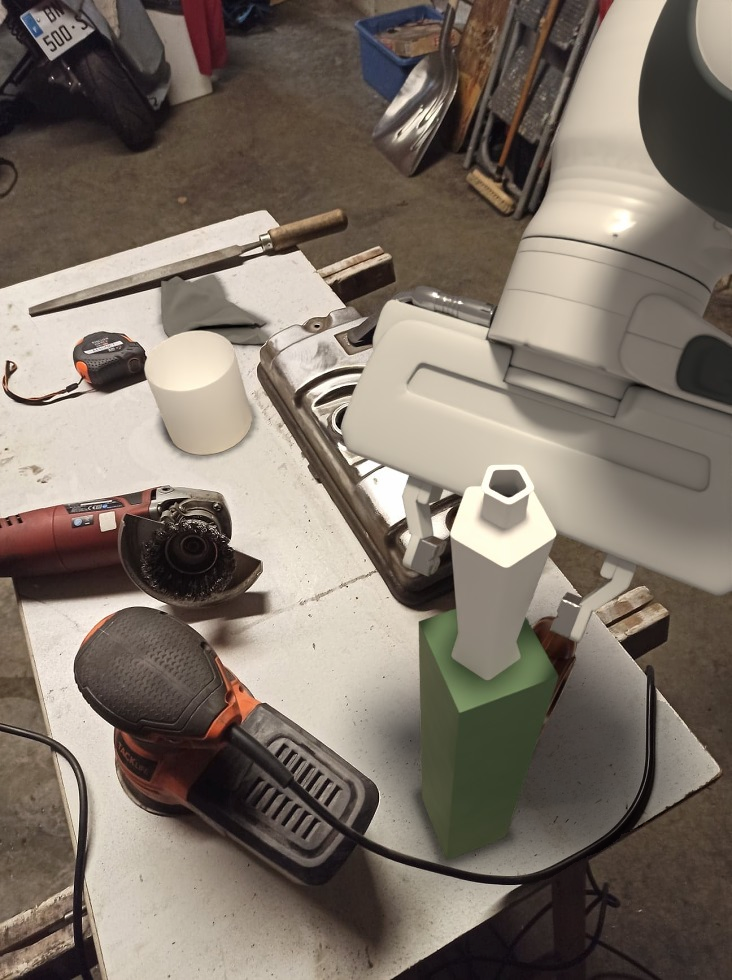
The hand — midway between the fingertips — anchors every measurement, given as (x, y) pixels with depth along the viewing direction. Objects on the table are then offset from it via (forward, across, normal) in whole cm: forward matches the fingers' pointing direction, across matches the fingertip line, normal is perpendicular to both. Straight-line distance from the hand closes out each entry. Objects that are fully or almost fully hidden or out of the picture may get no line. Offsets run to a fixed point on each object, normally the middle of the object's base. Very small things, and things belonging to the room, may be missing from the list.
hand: (489, 600), depth 37 cm
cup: (+7, -53, +51) cm, 74 cm away
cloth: (-6, -69, +64) cm, 94 cm away
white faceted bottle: (+4, 0, +5) cm, 7 cm away
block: (+29, 0, +30) cm, 41 cm away
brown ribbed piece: (+20, +1, +38) cm, 43 cm away
